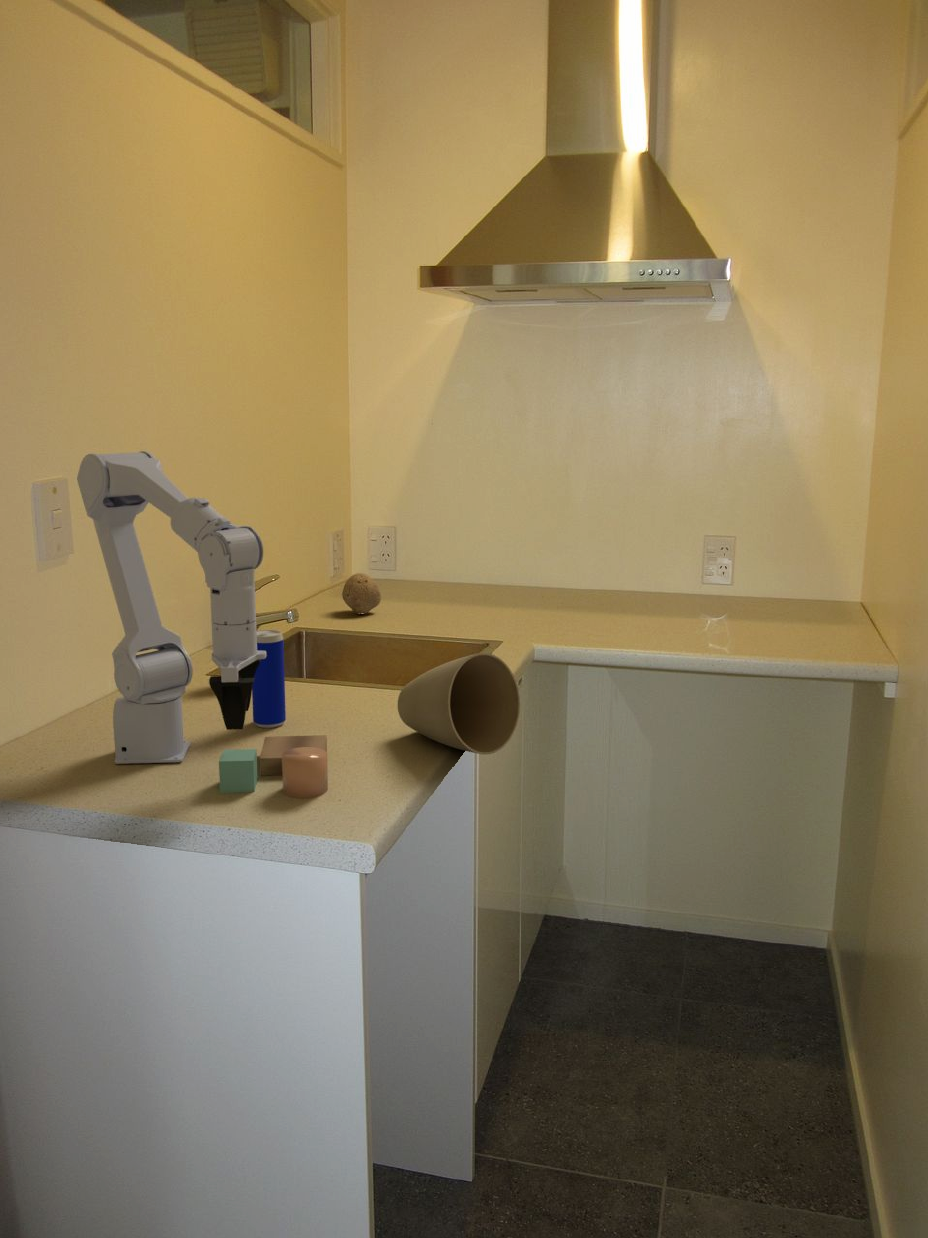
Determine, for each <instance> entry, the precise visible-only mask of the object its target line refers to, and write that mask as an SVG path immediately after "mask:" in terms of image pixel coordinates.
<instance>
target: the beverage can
mask: <svg viewBox="0 0 928 1238" xmlns="http://www.w3.org/2000/svg"><path fill="white" fill-rule="evenodd" d="M256 632H257V650H259V651H266V658H265V659H261V661H260V664H259V666H258V668H257V670H256V673H255V676H254V678H255V680H254V683H253V686H252V693H251V699H252V721H253V723H254V725H256V726H257V727H258V728H265V729H270V728H272V729H273V728H278V727H281V726H283V725H284V723H285V721H286V720H287V719H286V718H287V716H286V683H285V681H286V680H285V650H284V648H285V647H284V646H285V645H284V644H285V643H284V642H285V641H284V636H283V634H282V633H283V632H281V630H276V629H261V630H259V629H258V630H256Z"/></svg>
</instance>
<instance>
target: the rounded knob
mask: <svg viewBox="0 0 928 1238" xmlns="http://www.w3.org/2000/svg"><path fill="white" fill-rule="evenodd" d="M328 771H329V769H328V751H327V752H326V751H325V750H323V749H320V748H315V747H299V748H293V749H290V750H287V751H285V752H284V753H283V754H282V775H281V776H282V793H283V794H284V795H286V796H288V797H290V798H295V799H310V798H311V799H312V798H316V797H321V796H322V795H324V794H326V793H327V791H328V789H329V787H328V786H329V780H328V779H329V778H328V777H329V776H328V774H329V773H328Z"/></svg>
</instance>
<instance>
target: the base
mask: <svg viewBox="0 0 928 1238" xmlns="http://www.w3.org/2000/svg"><path fill="white" fill-rule="evenodd" d="M327 737H328V735H325V734H319V735H318V734H317V735H289V736H288V735H284V736H283V735H282V736H281V735H279V736H265V737H264V739H263V744H262V749H261V751H260V755H259V776H280V775H281V776H282V754H283V753H284V752H285V751H287V750H290V749H293V748H299V747H315V748H320V749H323V750H325V751H326V752H327V753H328V738H327Z"/></svg>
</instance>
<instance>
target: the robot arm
mask: <svg viewBox="0 0 928 1238" xmlns="http://www.w3.org/2000/svg"><path fill="white" fill-rule="evenodd" d="M77 472H78V473H77V477H76V480H77V484H78V487H79V488H78V489H79V492H80V494H81V499H82V501H83V505H84V509H85V512H86V515H87V517H89V518H90V519H92V522H93V526H94V530H95V532H96V535H97V536H96V537H97V539H98V542H99V543H98V544H99V547H100V550H101V553H102V557H103V560H104V564H105V568H106V571H107V575H108V577H109V582H110V586H111V589H112V592H113V595H114V600H115V603H116V606H117V610H118V613H119V617H120V620H121V621H120V622H121V624H122V628H123V631H124V636H123V638H122V639H121V640H120V642H119V643H117V646H116V647H115V648H114V650H113V651H112V654H111V656H112V659H113V668H114V673H113V675H114V677H113V678H114V683H115V686H116V689H117V691H118V692H119V693H120V694H121V695H122V696H119V697H117V698H116V699H115V702H114V705H113V711H112V712H113V713H112V725H113V727H112V728H113V736H114V737H113V739H114V752H115V753H114V754H115V755H114V756H115V758H114V763H115V764H116V765H117V764H118V765H119V764H121V765H123V764H125V765H126V764H128V765H129V764H154V763H155V764H157V763H158V764H159V763H181V762H183V761H184V759H185V757H186V755H187V753H188V750H189V748H190V745H191V741H190V740H184V739H185V737H184V722H183V703H182V701H183V700H182V695H183V694H186V693H187V692H186V687H187V686H189V685H190V683H191V682H192V679H193V674H194V673H193V672H194V666H193V662H192V659H191V657H190V655H189V653H187V650H186V649H185V647H184V645H183V642H182V639H181V636H180V635H179V634H177V633H175V632H174V631H172V630H170V629H168V628H167V627H164V626H163V624H162V621H161V617H160V614H159V609H158V606H157V602H156V600H155V599H156V598H155V595H154V592H153V589H152V586H151V581H150V577H149V574H148V571H147V567H146V564H145V561H144V558H143V554H142V553H143V552H142V550H141V549H142V548H141V546H140V543H139V539H138V536H137V532H136V529H135V526H134V521H135V519H136V517H137V515H139V514H140V513H142V512H144V510H145V509H146V508H147V506H148V504H150V505H152V506H153V507H155V508H156V509H157V510H159V511H160V512H162V513H163V514H164V515H166V516H168V517H169V518H170V527H171V530H172V531H173V533H174V534H176V535H177V536H178V537H179V538H181V539H182V540H183V542H185V543H186V544H187V545H189V547H191V548H192V549H193V550H195V551H196V552H197V556H198V560H199V561H198V562H199V564H200V566H201V568H202V570H203V572H204V577H205V578H204V579H205V583H206V587H208V588H209V594H210V598H209V599H210V617H211V618H210V620H211V621H210V622H211V638H212V653H211V656H210V657H211V661H212V662H213V663H214V664H215V665H216V667H218V668H219V669H220V673H221V674H220V675H214V676H213V675H212V676H210V677H209V679H208V684H209V686H210V689H211V690H212V692H213V694H214V695H215V698H216V699H217V701H218V704H219V707H220V711H221V715H222V720H223V723H224V726H225V728H226V730H227V731H231V730H243V728H244V725H245V721H246V720H245V719H246V713H247V712H248V711H249V709H250V705H251V699H252V686H253V683H254V680H255V678H254V676H255V673H256V670H257V668H258V666H259V664H260V661H261V659H265V658H266V651H259V650H257V632H256V631H257V611H256V608H257V607H256V582H255V579H256V577H255V570H256V569H258V568H259V567H260V566H261V564H262V562H263V559H264V545H263V541H262V539H261V538H260V536H259V533H258V532H256V531H255V529H254V528H253V527H252V526H250V525H241V526H239V525H238V524H233V523H232V522H231V521H230V519H228V518H227V517H225V516H223V515H222V514H221V513H219V512H218V511H217V510H216V509H214V507H212V506H211V505H210V501H209V500H208V499H206V498H205V497H190V498H189V497H188V496H187V495H185V494H184V493H183V492H182V491H181V490H180V489H179V488H178V487H177V486H176V485H175V483H173V481H171V480H170V479H169V478H168V476H166V475H165V474H164V473H163V467H162V463H161V460H160V459H158V458H156V457H155V456H154V455H153V454H152V453H151V452H150V451H147V450H141V451H138V452H124V453H123V452H122V453H121V452H119V453H101V454H97V453H88V454H86V455H85V456H84V457H83V458H82V460H81V462H80V465H79V470H78V471H77ZM150 650H154V651H150ZM145 651H146V652H145ZM147 651H149V652H147ZM140 652H145V653H140ZM137 653H140V654H137Z"/></svg>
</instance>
